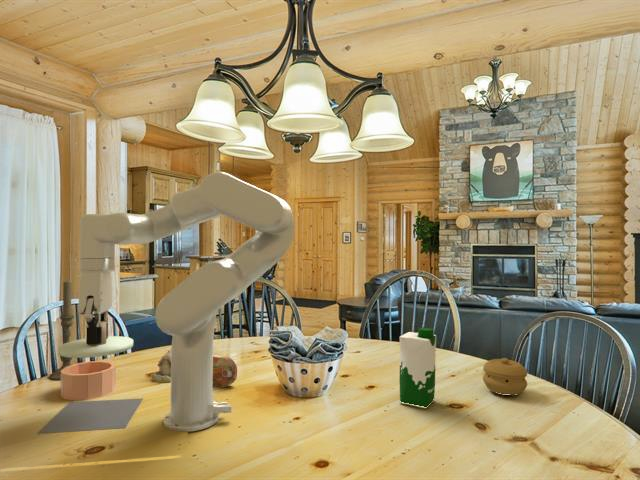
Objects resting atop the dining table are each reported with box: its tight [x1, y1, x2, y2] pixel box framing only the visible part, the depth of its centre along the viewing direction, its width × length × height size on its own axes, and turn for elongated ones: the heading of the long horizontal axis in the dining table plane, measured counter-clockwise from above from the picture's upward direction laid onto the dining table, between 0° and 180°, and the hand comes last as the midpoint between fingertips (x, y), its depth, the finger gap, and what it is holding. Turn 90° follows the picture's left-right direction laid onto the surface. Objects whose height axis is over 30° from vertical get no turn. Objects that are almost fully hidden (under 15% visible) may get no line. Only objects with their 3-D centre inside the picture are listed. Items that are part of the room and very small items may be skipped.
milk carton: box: [399, 326, 437, 407], centre depth 115 cm, size 9×9×20 cm
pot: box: [482, 357, 528, 395], centre depth 123 cm, size 12×12×10 cm
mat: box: [36, 397, 144, 435], centre depth 103 cm, size 18×18×1 cm
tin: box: [213, 354, 238, 388], centre depth 127 cm, size 15×3×8 cm, turn 62°
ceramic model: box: [151, 349, 171, 384], centre depth 133 cm, size 14×11×10 cm
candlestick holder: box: [48, 279, 75, 381], centre depth 133 cm, size 9×9×30 cm
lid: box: [57, 321, 134, 359], centre depth 103 cm, size 16×16×6 cm
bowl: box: [60, 360, 117, 401], centre depth 118 cm, size 13×13×7 cm
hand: (97, 340), depth 103 cm, fingers closed on lid, 4 cm apart
